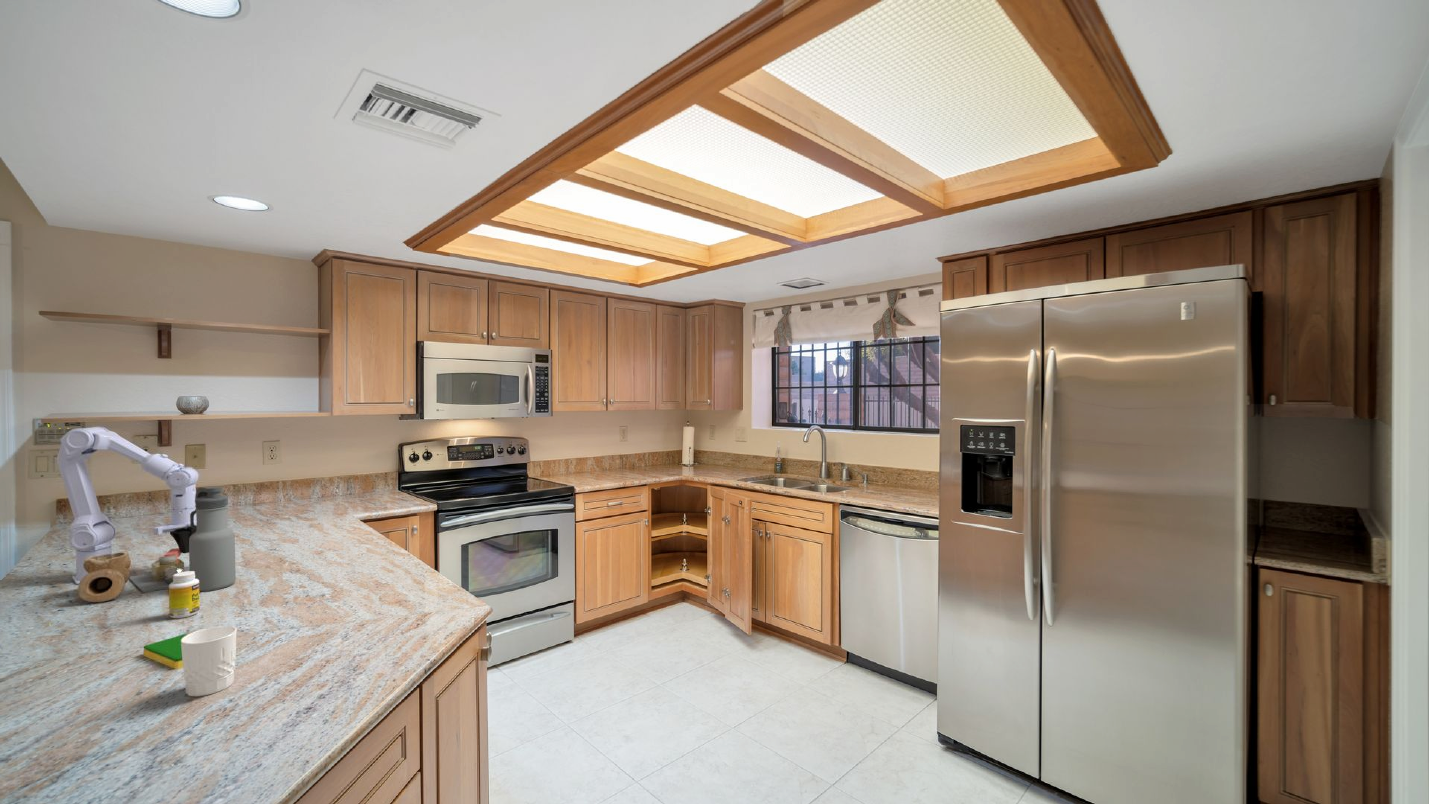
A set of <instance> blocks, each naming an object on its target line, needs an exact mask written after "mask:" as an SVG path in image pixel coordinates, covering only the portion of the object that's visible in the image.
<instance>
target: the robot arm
mask: <svg viewBox="0 0 1429 804" xmlns="http://www.w3.org/2000/svg"><path fill="white" fill-rule="evenodd" d="M59 441H60V444H61V445H60V447H59V450H58V453H57V456H56V463H57V467H58V469H59V473H60V477H61V479H62V480H61V481H62V483H63V486H64V489H65V492H66V496H67V500H68V501H69V502H68V503H69V506H70V509H71V512H72V515H73V518H74V520H73V521H72V523H71V524H70V527H69V529H70V536H69V540H68V541H69V542H68V543H69V545H71V547H72V548H73V549H74V550H75V573H76V575H73V576H72V577H71V578H72V580H73V581H74V583H75V584H77V585H79V583H80V581H81V580H82V578H83V577H84V576H85V575H87V574H88V572H86V571H85V569H84V566H83V564H84V562H85V559H86V558H89V557H91V556H100V555H104V554H113V553H112V551H113V550H112V540H113V539H115V537H116V536H117V527H115V525H114V524H112V522H111V521H110V519H109V517H108V516H107V515H106V514H104V513H103V512H101V507H100V504H99V502H98V498H97V495H96V494H97V493H96V491H95V489H94V485H93V482H92V479H91V475H90V472H89V468H88V465H87V463H86V462H87V460H88V459H89V458H90V457H91V456H92V455H93V454H94V453H95V452H97V451H99V450H106V451H108V450H109V451H114V453H117V454H119V455H122V456H124V457H126V458H128V459H131V460H132V461H134V462H137V463H140V465H141V466H140V467H141V470H142V471H144V472H147V473H149V474H151V475H153V476H155V477H157V479H161V480H162V481H164V482H165V484H166V485H167V487H169V489H170V510H171V512H170V513H171V515H170V516H171V517H170V518H171V523H168V524H165V525H160V526H155V527H153V535H156V536H157V535H158V536H159V535H163V534H167V533H169V535H170V536H171V537H172V538H173V539H174V540H175V542H176V544H177V546H178V547H177V548H179V549H180V553H182V554H187V553H188V554H189V538H190V536H191V535H192V534H194V533H195V532H196V531H197V529H194V528H192V527H191V526H190V514H191V512H193V511H195V509H196V507H195V505H196V504H195V495H196V492H197V489H196V486H197V485H196V484H197V483H198V481H199V479H200V474H199V472H198V471H197V470H196V469H195V468H194V467H191V466H185V464H183V463H177V462H175V461H173V460H172V459H170V458H168V457H169V455H168V454H166V453H163V454H160V453H153V454H152V453H149V452H148V451H146V450H144V449H142V448H140V447H139V446H137V445H136V444H134V443H132V442H130V441H129V440H127V439H125V438H124V437H122V436H120V435H119V434H118V433H117V432H115V431H112V430H109V429H108V428H106V427H103V426H92V427H83V428H81V427H79V428H78V427H77V428H72V429H71V430H69V431H67V432H66V433H65V434H64V435H63V436H62V437H61V438H60V439H59ZM194 525H195V526H197V522H196V514H195V515H194Z"/></svg>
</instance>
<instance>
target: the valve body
mask: <svg viewBox="0 0 1429 804" xmlns="http://www.w3.org/2000/svg"><path fill="white" fill-rule="evenodd" d="M184 567H185V562H184V561H183V560H181V559H180V558H177V559H176V562H174V563H170V564H159V559H158V560H155V561H154V562H152V563H151V573H152V578H153V579H154V580H155V581H156V582H159V581H165V582H166V583H167V584H169V585H170V584H171V583H172V582H173V575H174V574H177V573H180V572H185V571H184Z"/></svg>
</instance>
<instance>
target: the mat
mask: <svg viewBox="0 0 1429 804" xmlns="http://www.w3.org/2000/svg"><path fill="white" fill-rule="evenodd" d="M184 571H185V572H186V571H190V566H189V565H188V566H184ZM129 581H130V582H131V583H133V584H134V586H135V587H137V589H138V590H139V591H140V592H141V593H143V594H145V593H149V592H150V591H151V592H156V591H161V590H165V588H166V589H169V584H167V583H166V582H165V581H159V582H156V581H155V580H154V579H153V578H152V572H150V573H144V574H140V575H134V576H130V577H129ZM151 592H150V593H151Z"/></svg>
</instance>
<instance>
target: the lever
mask: <svg viewBox="0 0 1429 804" xmlns="http://www.w3.org/2000/svg"><path fill="white" fill-rule="evenodd" d="M182 554H183V553H180V549H179V547H177V548H171V549H169V550H168V551H167V552H166V553H164V555H163V556H160V557H159V558H158V560H159V564H170V563H174V562H176V559H179V557H180V556H181V555H182Z"/></svg>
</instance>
